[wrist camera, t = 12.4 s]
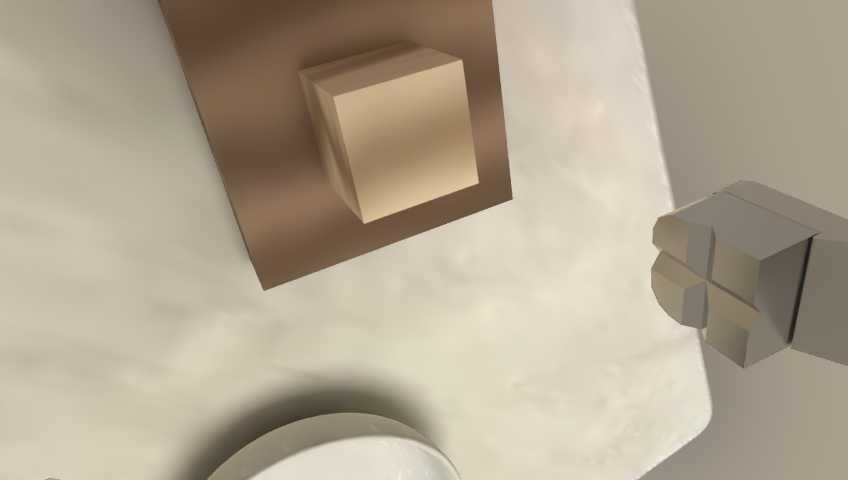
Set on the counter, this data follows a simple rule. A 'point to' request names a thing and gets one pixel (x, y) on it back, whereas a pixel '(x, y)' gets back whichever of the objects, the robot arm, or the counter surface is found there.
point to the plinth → (291, 125)
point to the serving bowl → (339, 452)
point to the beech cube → (392, 127)
